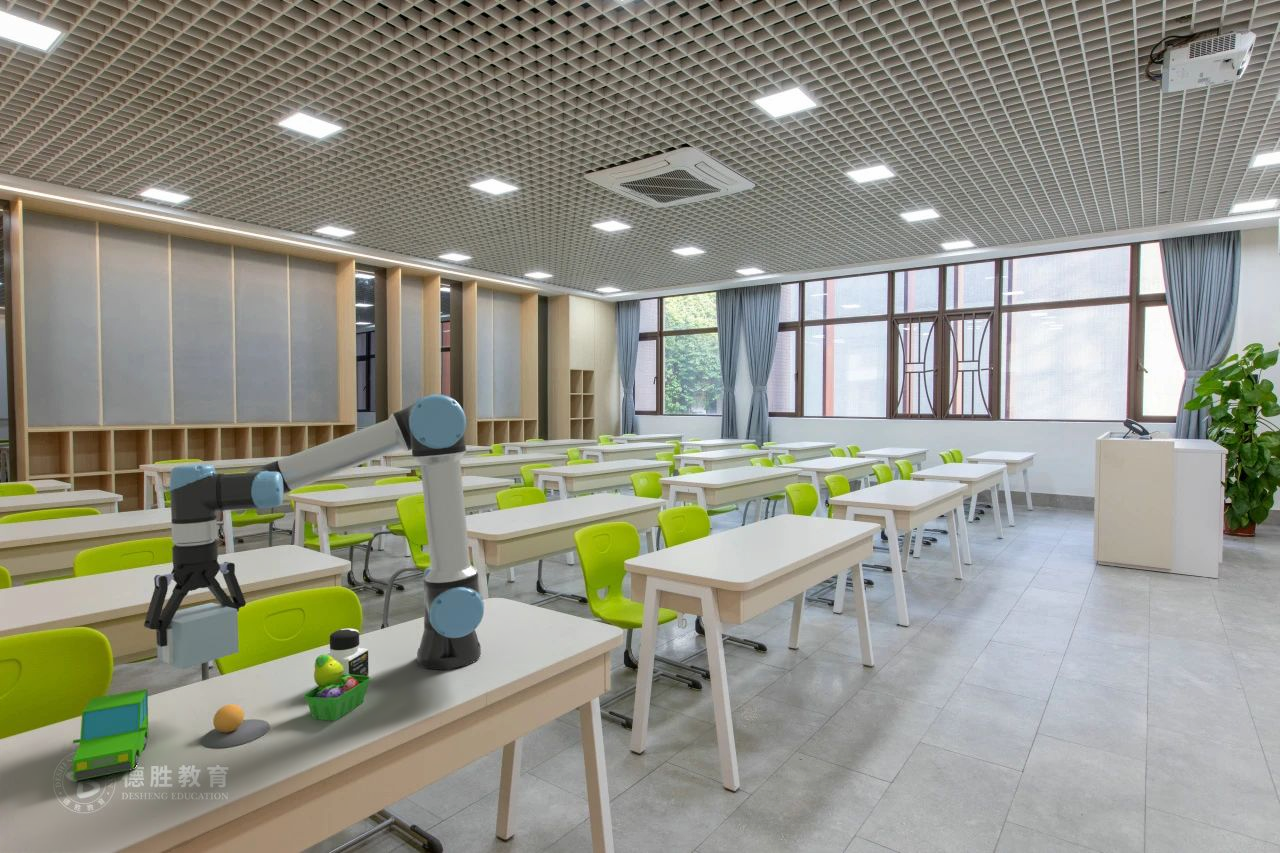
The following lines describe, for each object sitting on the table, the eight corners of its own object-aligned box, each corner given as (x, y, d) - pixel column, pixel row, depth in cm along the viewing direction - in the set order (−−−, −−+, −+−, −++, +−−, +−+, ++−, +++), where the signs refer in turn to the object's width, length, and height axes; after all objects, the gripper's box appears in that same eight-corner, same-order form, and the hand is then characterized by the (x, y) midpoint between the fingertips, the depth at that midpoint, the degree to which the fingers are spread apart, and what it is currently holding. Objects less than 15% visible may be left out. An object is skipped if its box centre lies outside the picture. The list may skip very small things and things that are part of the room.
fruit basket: (335, 725, 130) (334, 667, 129) (297, 720, 132) (296, 663, 131) (372, 700, 141) (371, 647, 140) (336, 696, 143) (335, 644, 143)
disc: (281, 728, 128) (281, 727, 128) (220, 753, 119) (220, 752, 119) (250, 715, 134) (250, 714, 134) (190, 738, 124) (190, 737, 124)
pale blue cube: (238, 652, 135) (237, 609, 135) (183, 669, 126) (181, 623, 126) (212, 644, 141) (211, 602, 140) (157, 659, 132) (156, 615, 132)
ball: (241, 695, 129) (233, 711, 131) (213, 704, 125) (205, 720, 127) (251, 716, 127) (243, 732, 129) (223, 726, 123) (215, 742, 125)
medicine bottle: (349, 692, 145) (348, 637, 145) (320, 689, 146) (319, 635, 146) (369, 679, 152) (368, 627, 152) (341, 677, 153) (340, 625, 153)
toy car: (63, 792, 107) (61, 730, 107) (85, 755, 119) (84, 699, 119) (141, 775, 112) (140, 716, 112) (155, 741, 124) (154, 688, 123)
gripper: (243, 531, 145) (247, 632, 145) (118, 551, 125) (123, 668, 126) (262, 534, 141) (266, 638, 141) (136, 555, 121) (141, 675, 122)
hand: (198, 652), depth 133 cm, fingers closed on pale blue cube, 10 cm apart
